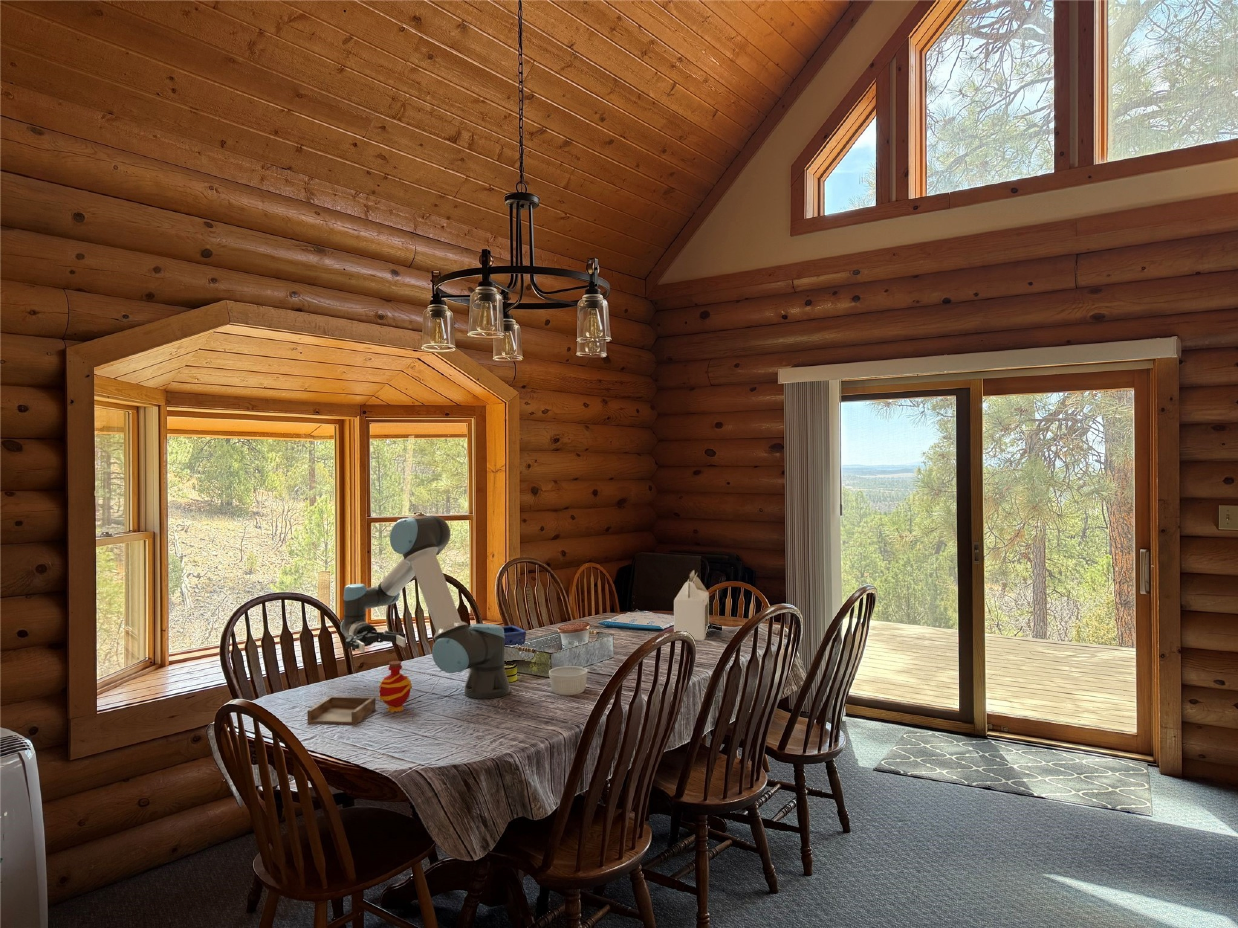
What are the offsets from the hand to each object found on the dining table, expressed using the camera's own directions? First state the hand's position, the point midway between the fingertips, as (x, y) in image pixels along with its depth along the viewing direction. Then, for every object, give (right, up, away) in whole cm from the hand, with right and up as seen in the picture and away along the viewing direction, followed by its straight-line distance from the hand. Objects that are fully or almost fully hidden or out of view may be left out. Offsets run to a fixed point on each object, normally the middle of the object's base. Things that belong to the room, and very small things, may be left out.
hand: (384, 645), depth 269 cm
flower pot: (+32, -18, +56) cm, 67 cm away
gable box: (+110, -17, +101) cm, 150 cm away
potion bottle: (+6, -19, -8) cm, 21 cm away
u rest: (-9, -19, -14) cm, 25 cm away
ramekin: (+59, -18, +13) cm, 63 cm away
